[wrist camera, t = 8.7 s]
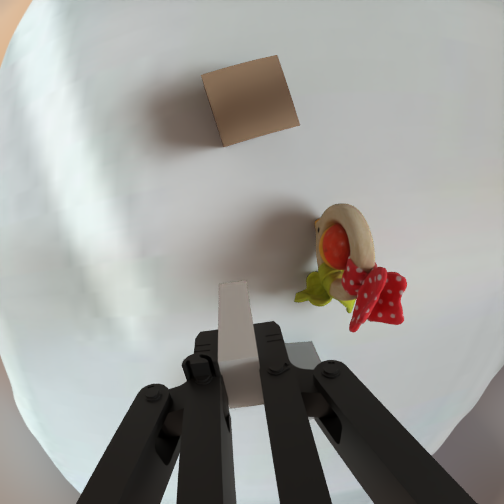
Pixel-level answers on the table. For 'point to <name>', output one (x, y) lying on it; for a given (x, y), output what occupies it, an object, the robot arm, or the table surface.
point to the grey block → (303, 356)
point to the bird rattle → (352, 270)
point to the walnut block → (250, 100)
